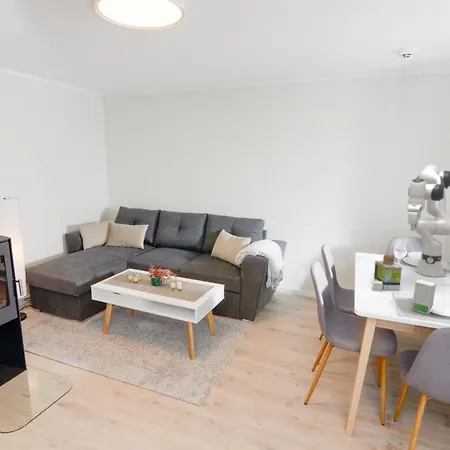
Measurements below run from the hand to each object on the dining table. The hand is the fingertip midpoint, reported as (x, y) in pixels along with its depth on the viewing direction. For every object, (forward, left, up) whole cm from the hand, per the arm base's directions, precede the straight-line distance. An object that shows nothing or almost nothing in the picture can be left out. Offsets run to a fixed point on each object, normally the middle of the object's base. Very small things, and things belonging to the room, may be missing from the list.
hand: (413, 229), depth 205 cm
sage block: (+17, -14, -37) cm, 43 cm away
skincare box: (+35, +12, -37) cm, 52 cm away
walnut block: (+7, -11, -22) cm, 25 cm away
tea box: (+7, -11, -37) cm, 39 cm away
